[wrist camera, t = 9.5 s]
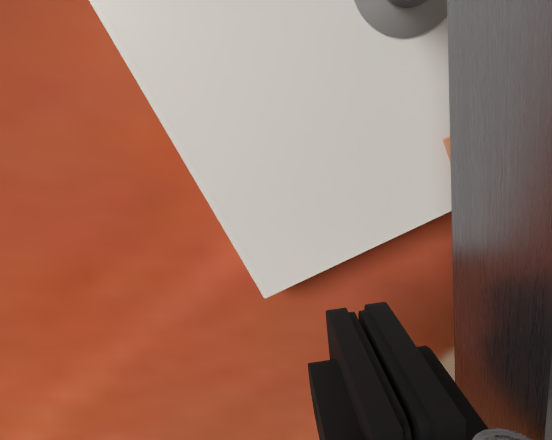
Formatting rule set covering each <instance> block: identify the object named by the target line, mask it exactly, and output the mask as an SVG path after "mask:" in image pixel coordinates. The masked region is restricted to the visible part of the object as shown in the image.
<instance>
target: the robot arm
mask: <svg viewBox="0 0 552 440" xmlns="http://www.w3.org/2000/svg"><path fill="white" fill-rule="evenodd" d="M326 321H327V332H328V343H329V353H330V360H327V361H321V362H314V363H308V372H309V380H310V388H311V395H312V402H313V408H314V414H315V419H316V424H317V429H318V434H319V438H320V440H532V439H530V438H529V437H527V436H525V435H523V434H520V433H517V432H514V431H511V430H508V429H499V428H493V429H488V427H487V426H486V424H485V423H484V422H483V420H482V419H481V418H480V416H479V415H478V413H477V412H476V411H475V409H474V408H473V407H472V405H471V404H470V402H469V401H468V400H467V398H466V397H465V396H464V394H463V393H462V391H461V390H460V389H459V387H458V386H457V385H456V383H455V382H454V380H453V379H452V378H451V376H450V375H449V374H448V372H447V371H446V370H445V368H444V367H443V365H442V364H441V363H440V361H439V360H438V358H437V357H436V356H435V354H434V353H433V352H432V350H431V349H430V348H429V347H427V346H421V347H416V346H415V344H414V343H413V341H412V340H411V338H410V337H409V335H408V334H407V332H406V331H405V329H404V328H403V326H402V325H401V323H400V322H399V320H398V319H397V318H396V316H395V315H394V313H393V312H392V310H391V309H390V307H389V306H388V304H387V303H386V302H381V303H374V304H367V305H365V308H364V310H363V311H359V320H358V318H357V316H356V314H355V312H349V313H348V311H347V309H346V308H340V309H333V310H326Z"/></svg>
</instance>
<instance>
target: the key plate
mask: <svg viewBox="0 0 552 440" xmlns="http://www.w3.org/2000/svg"><path fill="white" fill-rule="evenodd" d="M89 1H90V3H91V5H92V6H93V8H94V10H95V11H96V13H97V15H98V16H99V18H100V20H101V22H102V23H103V25H104V27H105V28H106V30H107V32H108V33H109V35H110V37H111V39H112V40H113V42H114V44H115V45H116V47H117V49H118V50H119V52H120V54H121V56H122V57H123V59H124V61H125V62H126V64H127V66H128V67H129V69H130V71H131V73H132V74H133V76H134V78H135V79H136V81H137V83H138V84H139V86H140V88H141V90H142V91H143V93H144V95H145V96H146V98H147V100H148V101H149V103H150V105H151V107H152V108H153V110H154V112H155V113H156V115H157V117H158V118H159V120H160V122H161V123H162V125H163V127H164V129H165V130H166V132H167V134H168V135H169V137H170V139H171V140H172V142H173V144H174V146H175V147H176V149H177V151H178V152H179V154H180V156H181V157H182V159H183V161H184V163H185V164H186V166H187V168H188V169H189V171H190V173H191V174H192V176H193V178H194V180H195V181H196V183H197V185H198V186H199V188H200V190H201V191H202V193H203V195H204V197H205V198H206V200H207V202H208V203H209V205H210V207H211V208H212V210H213V212H214V214H215V215H216V217H217V219H218V220H219V222H220V224H221V225H222V227H223V229H224V231H225V232H226V234H227V236H228V237H229V239H230V241H231V242H232V244H233V246H234V248H235V249H236V251H237V253H238V254H239V256H240V258H241V259H242V261H243V263H244V264H245V266H246V268H247V270H248V271H249V273H250V275H251V276H252V278H253V280H254V281H255V283H256V285H257V287H258V288H259V290H260V292H261V293H262V295H263V297H264V298H267V297H270V296H272V295H274V294H276V293H278V292H280V291H282V290H284V289H287V288H289V287H291V286H293V285H295V284H297V283H299V282H301V281H304V280H306V279H308V278H310V277H312V276H314V275H316V274H318V273H321V272H323V271H325V270H327V269H329V268H331V267H333V266H335V265H338V264H340V263H342V262H344V261H346V260H348V259H350V258H352V257H355V256H357V255H359V254H361V253H363V252H365V251H367V250H369V249H372V248H374V247H376V246H378V245H380V244H382V243H384V242H386V241H389V240H391V239H393V238H395V237H397V236H399V235H401V234H403V233H406V232H408V231H410V230H412V229H414V228H416V227H418V226H420V225H423V224H425V223H427V222H429V221H431V220H433V219H435V218H437V217H440V216H442V215H444V214H446V213H448V212H450V211H452V205H451V158H450V111H449V65H448V18H447V0H429V1H427V2H425V3H423V4H422V5H419V6H417V7H413V8H403V7H399V6H396V5H394V4H393V3H391V2H390V1H389V0H89Z"/></svg>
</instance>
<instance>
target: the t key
mask: <svg viewBox="0 0 552 440" xmlns="http://www.w3.org/2000/svg"><path fill="white" fill-rule="evenodd" d="M389 1H390V2H391V3H393V4H394V5H396V6H399V7H403V8H413V7H417V6H419V5H422V4H423V3H425V2H427V1H429V0H389ZM447 18H448V65H449V111H450V158H451V205H452V252H453V299H454V346H455V383H456V385H457V386H458V387H459V389H460V390H461V391H462V393H463V394H464V396H465V397H466V398H467V400H468V401H469V402H470V404H471V405H472V407H473V408H474V409H475V411H476V412H477V413H478V415H479V416H480V418H481V419H482V420H483V422H484V423H485V424H486V426H487V427H488V429H493V428H499V429H508V430H511V431H514V432H517V433H520V434H523V435H525V436H527V437H529V438H530V439H532V440H552V0H447Z"/></svg>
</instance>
